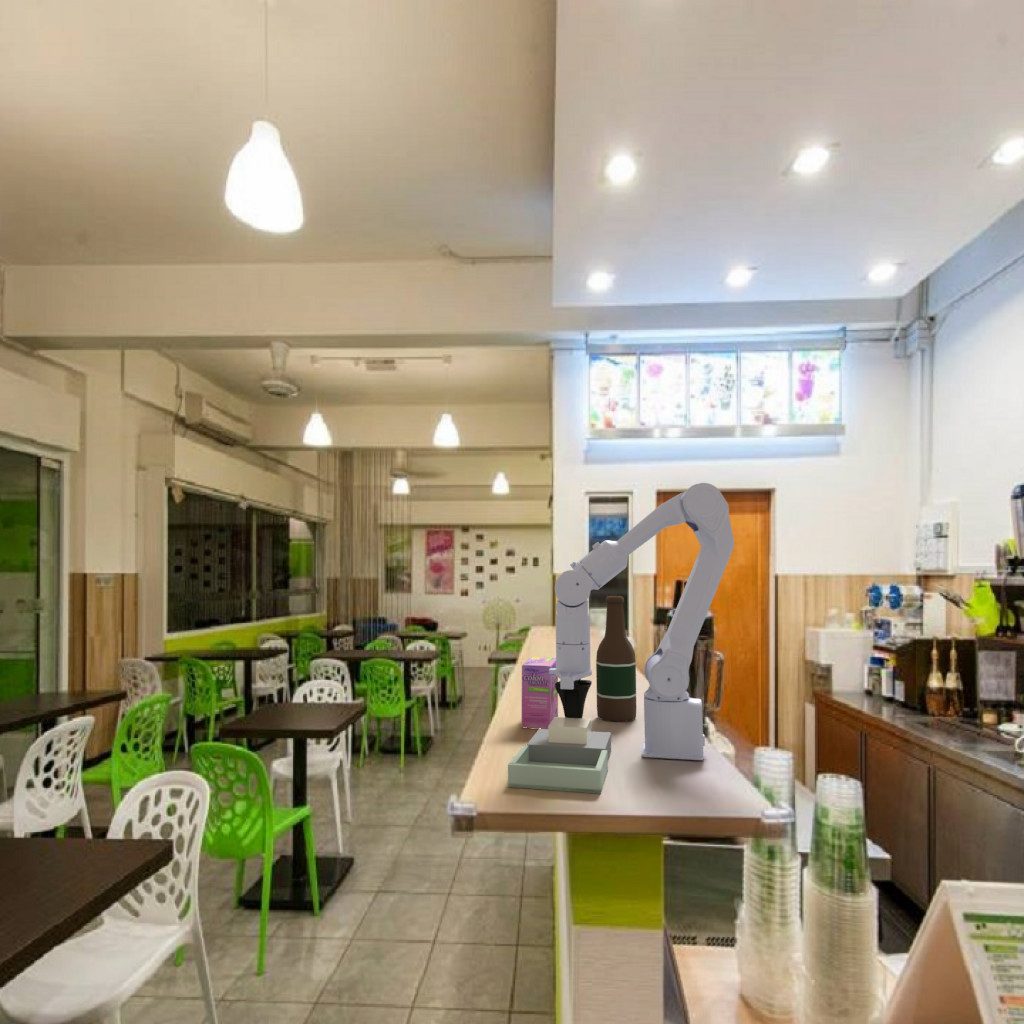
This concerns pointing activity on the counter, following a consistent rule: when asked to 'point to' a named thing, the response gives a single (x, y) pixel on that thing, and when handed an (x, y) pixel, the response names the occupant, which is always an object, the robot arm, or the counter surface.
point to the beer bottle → (616, 668)
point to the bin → (557, 774)
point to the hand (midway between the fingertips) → (573, 726)
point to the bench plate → (568, 749)
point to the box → (539, 693)
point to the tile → (569, 730)
